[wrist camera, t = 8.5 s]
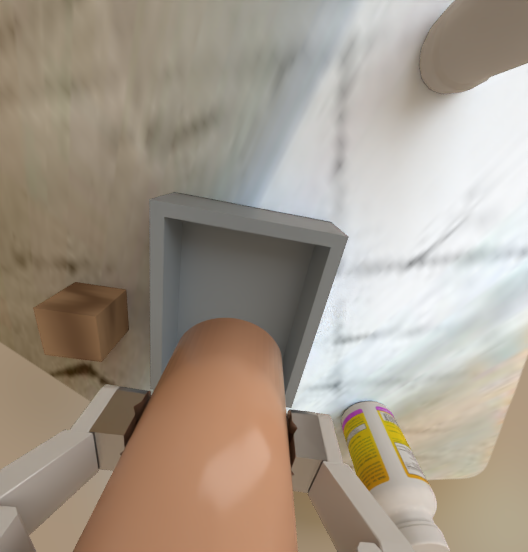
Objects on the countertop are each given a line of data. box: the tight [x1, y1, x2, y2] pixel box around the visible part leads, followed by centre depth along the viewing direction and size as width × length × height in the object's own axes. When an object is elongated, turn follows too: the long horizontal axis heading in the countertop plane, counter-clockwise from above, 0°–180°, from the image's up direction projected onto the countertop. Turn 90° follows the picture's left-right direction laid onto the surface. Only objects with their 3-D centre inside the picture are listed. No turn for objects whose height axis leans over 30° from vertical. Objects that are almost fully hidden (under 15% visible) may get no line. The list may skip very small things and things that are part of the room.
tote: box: [149, 192, 348, 408], centre depth 23 cm, size 14×18×5 cm
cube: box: [33, 282, 129, 362], centre depth 24 cm, size 5×5×5 cm
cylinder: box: [73, 318, 298, 552], centre depth 8 cm, size 5×5×7 cm
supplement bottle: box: [341, 401, 450, 552], centre depth 27 cm, size 7×7×13 cm
